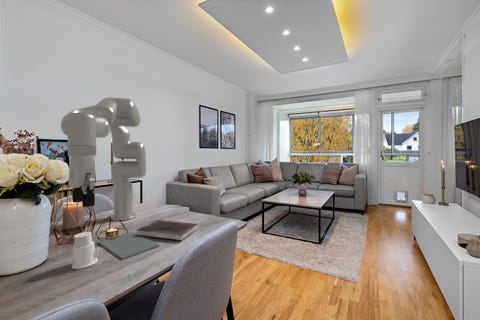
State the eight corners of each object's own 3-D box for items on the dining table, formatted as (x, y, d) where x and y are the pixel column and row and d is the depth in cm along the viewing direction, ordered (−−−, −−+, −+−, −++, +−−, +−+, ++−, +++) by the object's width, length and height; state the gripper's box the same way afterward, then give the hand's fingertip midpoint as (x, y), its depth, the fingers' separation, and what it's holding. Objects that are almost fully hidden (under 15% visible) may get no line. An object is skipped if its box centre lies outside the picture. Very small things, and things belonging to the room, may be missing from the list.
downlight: (101, 256, 78) (99, 228, 77) (96, 266, 71) (94, 236, 71) (74, 261, 75) (72, 232, 75) (66, 272, 68) (63, 240, 68)
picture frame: (136, 235, 96) (181, 241, 91) (136, 229, 96) (181, 235, 91) (158, 224, 112) (198, 228, 107) (158, 219, 112) (198, 223, 107)
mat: (97, 242, 89) (97, 241, 89) (132, 233, 100) (132, 231, 100) (122, 259, 76) (122, 258, 76) (159, 246, 87) (159, 244, 87)
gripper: (60, 151, 74) (61, 202, 75) (77, 151, 63) (78, 210, 64) (86, 151, 80) (87, 198, 80) (106, 151, 69) (106, 206, 70)
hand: (83, 203), depth 72 cm, fingers open, 9 cm apart
